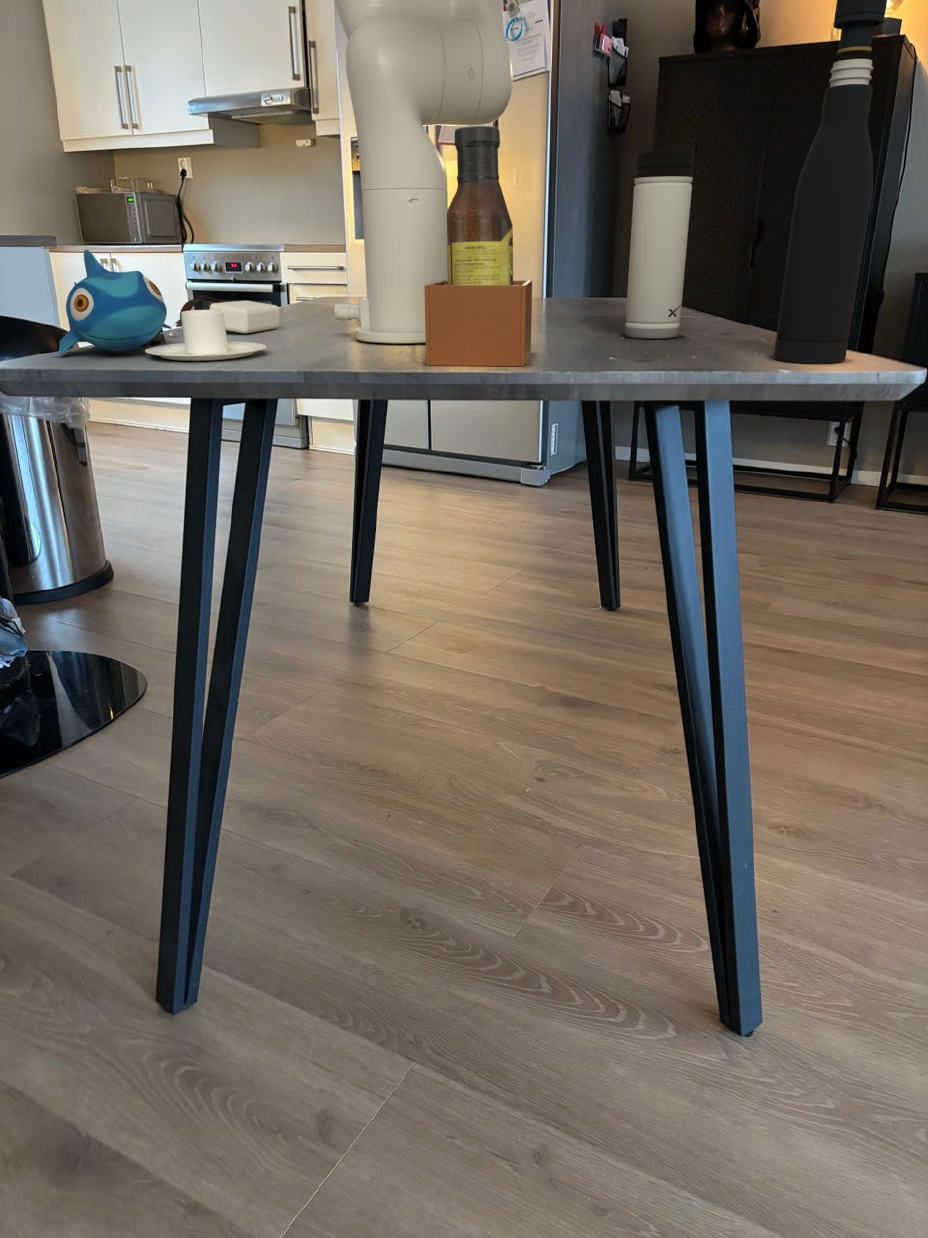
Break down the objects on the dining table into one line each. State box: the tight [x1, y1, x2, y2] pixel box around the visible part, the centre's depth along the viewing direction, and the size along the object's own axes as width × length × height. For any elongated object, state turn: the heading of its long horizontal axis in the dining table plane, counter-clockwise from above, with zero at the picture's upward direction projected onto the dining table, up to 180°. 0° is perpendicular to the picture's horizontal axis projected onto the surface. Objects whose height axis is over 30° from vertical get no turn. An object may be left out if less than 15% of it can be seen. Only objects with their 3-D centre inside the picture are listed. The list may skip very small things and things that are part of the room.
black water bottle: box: [773, 0, 888, 365], centre depth 77 cm, size 6×6×30 cm
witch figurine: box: [168, 319, 183, 338], centre depth 112 cm, size 5×12×2 cm, turn 176°
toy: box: [58, 249, 173, 355], centre depth 91 cm, size 12×18×10 cm, turn 38°
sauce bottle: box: [446, 125, 514, 285], centre depth 81 cm, size 6×6×20 cm
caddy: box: [424, 279, 533, 367], centre depth 84 cm, size 9×9×7 cm
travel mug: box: [624, 142, 699, 340], centre depth 98 cm, size 6×7×20 cm
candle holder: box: [144, 309, 267, 362], centre depth 88 cm, size 12×12×4 cm
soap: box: [208, 300, 281, 334], centre depth 111 cm, size 9×6×3 cm, turn 163°
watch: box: [179, 296, 224, 323], centre depth 111 cm, size 8×5×4 cm
